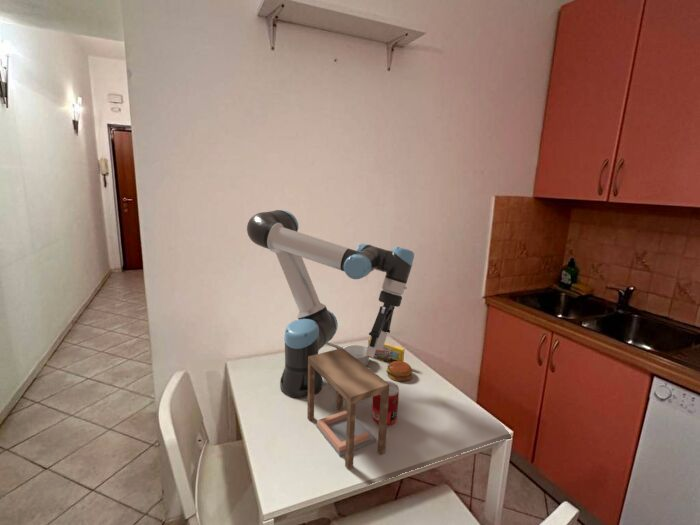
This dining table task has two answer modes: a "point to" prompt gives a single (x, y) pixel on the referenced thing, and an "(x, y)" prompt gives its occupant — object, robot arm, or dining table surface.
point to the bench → (349, 391)
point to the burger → (399, 371)
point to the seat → (343, 432)
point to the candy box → (389, 353)
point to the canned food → (391, 405)
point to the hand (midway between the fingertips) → (374, 352)
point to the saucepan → (355, 352)
